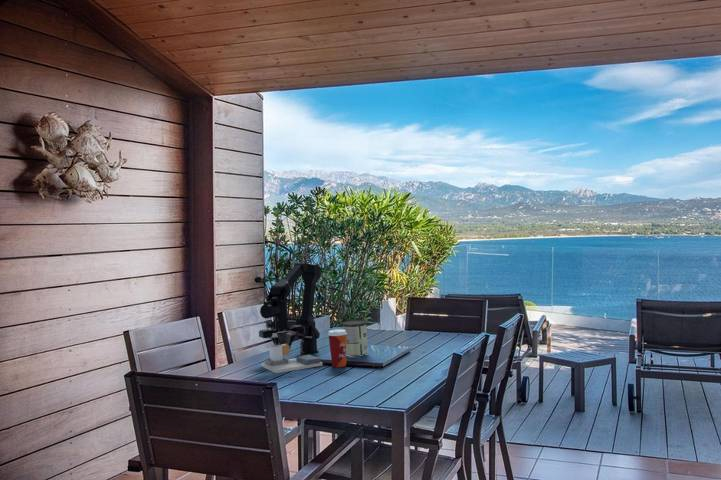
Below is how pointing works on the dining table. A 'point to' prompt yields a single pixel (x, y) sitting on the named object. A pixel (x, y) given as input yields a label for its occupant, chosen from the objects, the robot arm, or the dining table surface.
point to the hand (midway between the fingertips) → (283, 351)
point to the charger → (275, 353)
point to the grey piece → (308, 359)
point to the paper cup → (338, 347)
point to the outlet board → (286, 365)
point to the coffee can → (356, 337)
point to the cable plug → (285, 349)
